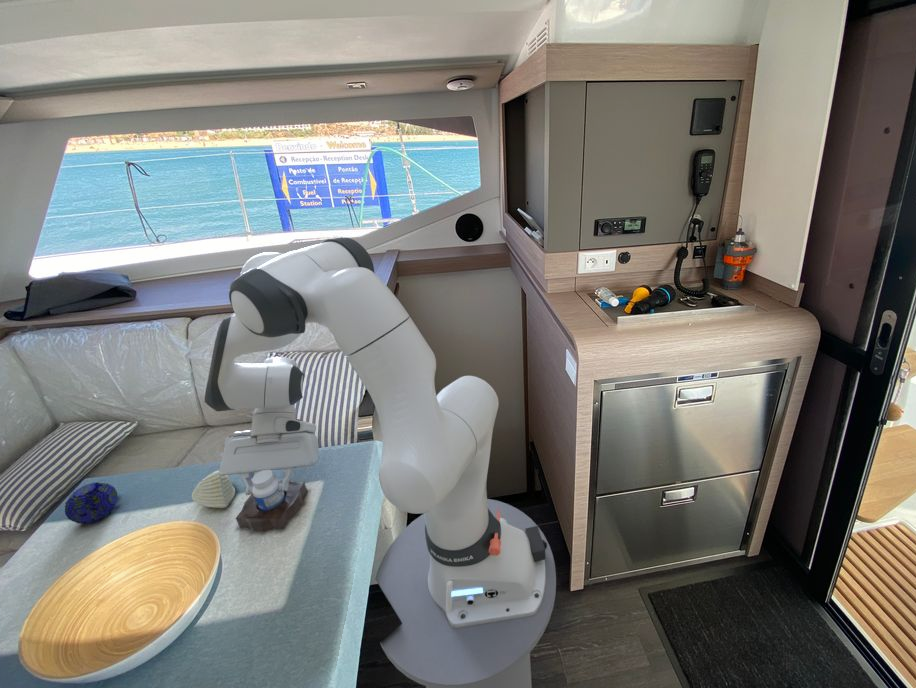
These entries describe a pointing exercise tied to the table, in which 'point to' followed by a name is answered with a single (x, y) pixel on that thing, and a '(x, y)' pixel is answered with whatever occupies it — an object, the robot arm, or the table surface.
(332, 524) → the table surface
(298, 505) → the brown candle holder
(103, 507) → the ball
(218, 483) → the seashell
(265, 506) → the pill bottle
